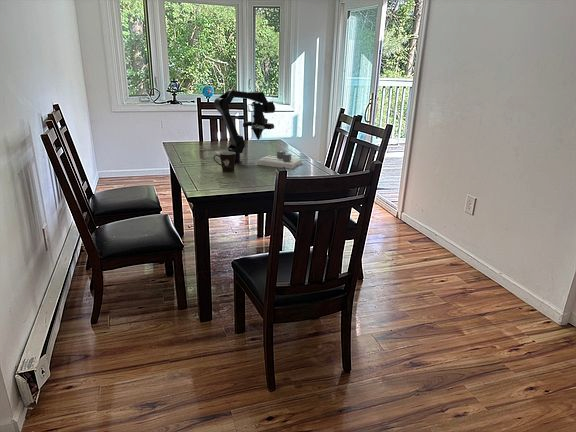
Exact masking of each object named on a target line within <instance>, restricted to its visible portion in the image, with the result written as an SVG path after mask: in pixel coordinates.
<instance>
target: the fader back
mask: <svg viewBox="0 0 576 432" xmlns="http://www.w3.org/2000/svg"><path fill="white" fill-rule="evenodd" d="M284 154H286V151H283V150H278V151H276V156H277V158H283V155H284Z"/></svg>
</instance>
